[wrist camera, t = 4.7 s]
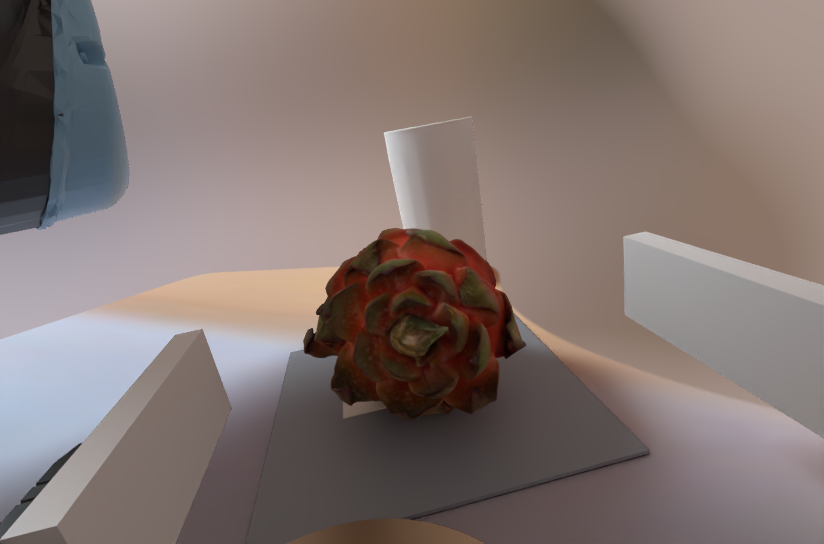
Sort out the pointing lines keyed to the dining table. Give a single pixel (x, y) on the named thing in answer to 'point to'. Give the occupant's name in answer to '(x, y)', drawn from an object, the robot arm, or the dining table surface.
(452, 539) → the coaster
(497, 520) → the dining table surface
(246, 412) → the dining table surface
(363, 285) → the dragon fruit
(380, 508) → the grey square tile
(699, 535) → the dining table surface
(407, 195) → the mug
